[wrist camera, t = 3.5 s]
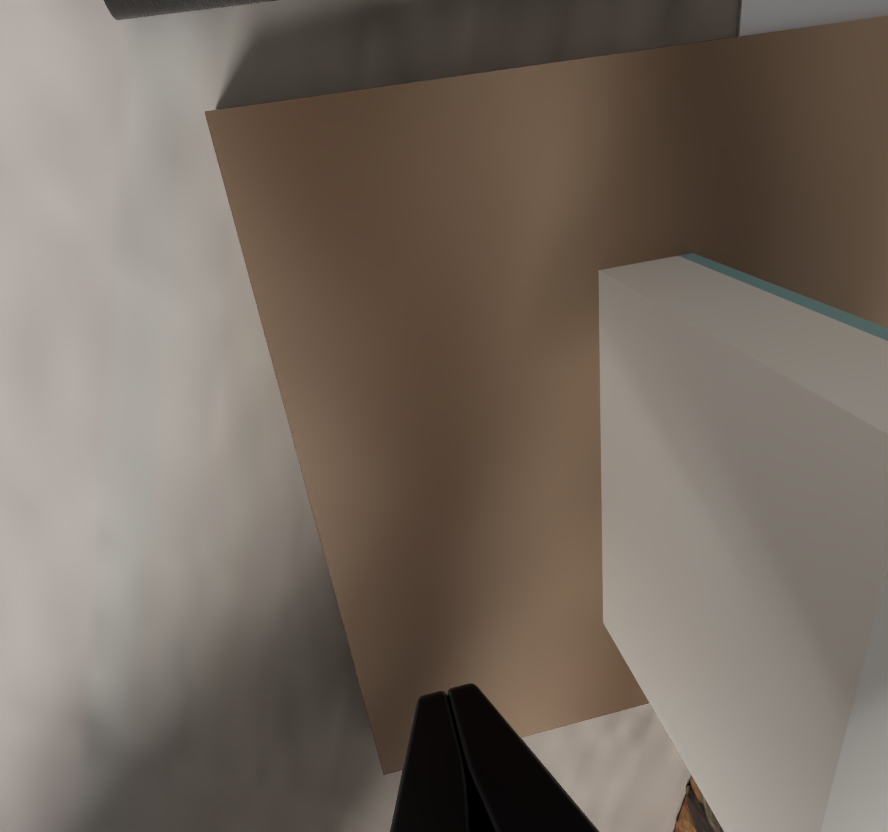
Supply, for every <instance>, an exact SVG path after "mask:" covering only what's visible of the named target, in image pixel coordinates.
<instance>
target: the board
mask: <svg viewBox="0 0 888 832" xmlns="http://www.w3.org/2000/svg"><path fill="white" fill-rule="evenodd" d="M205 115H206V119H207V123H208V126H209V130H210V134H211V138H212V141H213V145H214V149H215V152H216V156H217V160H218V163H219V167H220V171H221V175H222V178H223V182H224V186H225V189H226V193H227V197H228V200H229V204H230V208H231V211H232V215H233V219H234V223H235V226H236V230H237V234H238V237H239V241H240V245H241V248H242V252H243V256H244V260H245V263H246V267H247V271H248V274H249V278H250V282H251V285H252V289H253V293H254V297H255V300H256V304H257V308H258V311H259V315H260V319H261V322H262V326H263V330H264V334H265V337H266V341H267V345H268V348H269V352H270V356H271V359H272V363H273V367H274V371H275V374H276V378H277V382H278V385H279V389H280V393H281V396H282V400H283V404H284V408H285V411H286V415H287V419H288V422H289V426H290V430H291V433H292V437H293V441H294V445H295V448H296V452H297V456H298V459H299V463H300V467H301V470H302V474H303V478H304V482H305V485H306V489H307V493H308V496H309V500H310V504H311V507H312V511H313V515H314V519H315V522H316V526H317V530H318V533H319V537H320V541H321V544H322V548H323V552H324V556H325V559H326V563H327V567H328V570H329V574H330V578H331V581H332V585H333V589H334V592H335V596H336V600H337V604H338V607H339V611H340V615H341V618H342V622H343V626H344V629H345V633H346V637H347V641H348V644H349V648H350V652H351V655H352V659H353V663H354V666H355V670H356V674H357V678H358V681H359V685H360V689H361V692H362V696H363V700H364V703H365V707H366V711H367V715H368V718H369V722H370V726H371V729H372V733H373V737H374V740H375V744H376V748H377V752H378V755H379V759H380V763H381V766H382V770H383V774H384V775H385V774H389V773H392V772H396V771H400V770H403V766H404V761H405V756H406V751H407V746H408V741H409V737H410V732H411V727H412V722H413V717H414V712H415V707H416V703H417V700H418V698H419V697H420V696H422V695H426V694H430V693H434V692H438V691H444V692H445V693H446V694H447V692H448V690H449V689H450V688H453V687H457V686H461V685H465V684H468V683H473V684H475V685H476V686H478V687H479V689H480V690H481V691H482V692H483V693H484V695H485V696H486V697H487V698H488V699H489V701H490V702H491V703H492V704H493V705H494V707H495V708H496V709H497V710H498V711H499V712H500V714H501V715H502V716H503V717H504V718H505V720H506V721H507V722H508V723H509V724H510V726H511V727H512V728H513V729H514V730H515V732H516V733H517V734H518V735H519V736H520V738H522V737H525V736H529V735H533V734H536V733H540V732H544V731H547V730H551V729H555V728H559V727H562V726H566V725H570V724H573V723H577V722H581V721H584V720H588V719H592V718H596V717H599V716H603V715H607V714H610V713H614V712H618V711H621V710H625V709H629V708H632V707H636V706H640V705H644V704H647V703H649V701H648V699H647V698H646V696H645V694H644V692H643V691H642V689H641V687H640V686H639V684H638V682H637V680H636V679H635V677H634V675H633V673H632V672H631V670H630V668H629V667H628V665H627V663H626V661H625V660H624V658H623V656H622V654H621V653H620V651H619V649H618V648H617V646H616V644H615V642H614V641H613V639H612V637H611V635H610V634H609V632H608V630H607V629H606V627H605V625H604V623H603V575H602V499H601V423H600V346H599V270H603V269H608V268H614V267H619V266H625V265H630V264H636V263H641V262H647V261H652V260H658V259H663V258H668V257H674V256H679V255H685V254H690V253H694V254H697V255H699V256H702V257H705V258H707V259H710V260H712V261H715V262H717V263H720V264H723V265H725V266H728V267H730V268H733V269H736V270H738V271H741V272H743V273H746V274H749V275H751V276H754V277H756V278H759V279H762V280H764V281H767V282H769V283H772V284H775V285H777V286H780V287H782V288H785V289H788V290H790V291H793V292H795V293H798V294H801V295H803V296H806V297H808V298H811V299H813V300H816V301H819V302H821V303H824V304H826V305H829V306H832V307H834V308H837V309H839V310H842V311H845V312H847V313H850V314H852V315H855V316H858V317H860V318H863V319H865V320H868V321H871V322H873V323H876V324H878V325H881V326H884V327H886V328H888V16H881V17H874V18H867V19H860V20H852V21H845V22H838V23H831V24H824V25H817V26H810V27H803V28H796V29H788V30H781V31H774V32H767V33H760V34H753V35H746V36H739V37H732V38H724V39H717V40H710V41H703V42H696V43H689V44H682V45H675V46H667V47H660V48H653V49H646V50H639V51H632V52H625V53H618V54H611V55H603V56H596V57H589V58H582V59H575V60H568V61H561V62H554V63H547V64H539V65H532V66H525V67H518V68H511V69H504V70H497V71H490V72H483V73H475V74H468V75H461V76H454V77H447V78H440V79H433V80H426V81H418V82H411V83H404V84H397V85H390V86H383V87H376V88H369V89H362V90H354V91H347V92H340V93H333V94H326V95H319V96H312V97H305V98H298V99H290V100H283V101H276V102H269V103H262V104H255V105H248V106H241V107H234V108H226V109H219V110H212V111H205ZM447 697H448V696H447Z"/></svg>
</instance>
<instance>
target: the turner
mask: <svg viewBox="0 0 888 832" xmlns="http://www.w3.org/2000/svg"><path fill="white" fill-rule="evenodd" d="M268 1H276V0H104V2H105V4H106V6H107V8H108V9H109V11H110V13H111V14H112V16H113V17H114V18H115V19H116V20H123V19H131V18H139V17H147V16H155V15H163V14H171V13H179V12H188V11H196V10H204V9H212V8H220V7H228V6H236V5H244V4H252V3H260V2H268ZM881 16H888V0H740V3H739V16H738V30H737V37H739V36H746V35H753V34H760V33H767V32H774V31H781V30H788V29H796V28H803V27H810V26H817V25H824V24H831V23H838V22H845V21H852V20H860V19H867V18H874V17H881Z"/></svg>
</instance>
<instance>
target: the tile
mask: <svg viewBox="0 0 888 832" xmlns="http://www.w3.org/2000/svg"><path fill="white" fill-rule="evenodd" d="M599 346H600V423H601V499H602V575H603V623H604V625H605V627H606V629H607V630H608V632H609V634H610V635H611V637H612V639H613V641H614V642H615V644H616V646H617V648H618V649H619V651H620V653H621V654H622V656H623V658H624V660H625V661H626V663H627V665H628V667H629V668H630V670H631V672H632V673H633V675H634V677H635V679H636V680H637V682H638V684H639V686H640V687H641V689H642V691H643V692H644V694H645V696H646V698H647V699H648V701H649V703H650V705H651V706H652V708H653V710H654V711H655V713H656V715H657V717H658V718H659V720H660V722H661V724H662V725H663V727H664V729H665V730H666V732H667V734H668V736H669V737H670V739H671V741H672V743H673V744H674V746H675V748H676V749H677V751H678V753H679V755H680V756H681V758H682V760H683V762H684V763H685V765H686V767H687V768H688V770H689V772H690V774H691V775H692V777H693V779H694V781H695V782H696V784H697V786H698V787H699V789H700V791H701V793H702V794H703V796H704V798H705V800H706V801H707V803H708V805H709V807H710V808H711V810H712V812H713V813H714V815H715V817H716V819H717V820H718V822H719V824H720V826H721V827H722V829H723V831H724V832H888V328H886V327H884V326H881V325H878V324H876V323H873V322H871V321H868V320H865V319H863V318H860V317H858V316H855V315H852V314H850V313H847V312H845V311H842V310H839V309H837V308H834V307H832V306H829V305H826V304H824V303H821V302H819V301H816V300H813V299H811V298H808V297H806V296H803V295H801V294H798V293H795V292H793V291H790V290H788V289H785V288H782V287H780V286H777V285H775V284H772V283H769V282H767V281H764V280H762V279H759V278H756V277H754V276H751V275H749V274H746V273H743V272H741V271H738V270H736V269H733V268H730V267H728V266H725V265H723V264H720V263H717V262H715V261H712V260H710V259H707V258H705V257H702V256H699V255H697V254H694V253H690V254H685V255H679V256H674V257H668V258H663V259H658V260H652V261H647V262H641V263H636V264H630V265H625V266H619V267H614V268H608V269H603V270H599Z"/></svg>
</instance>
